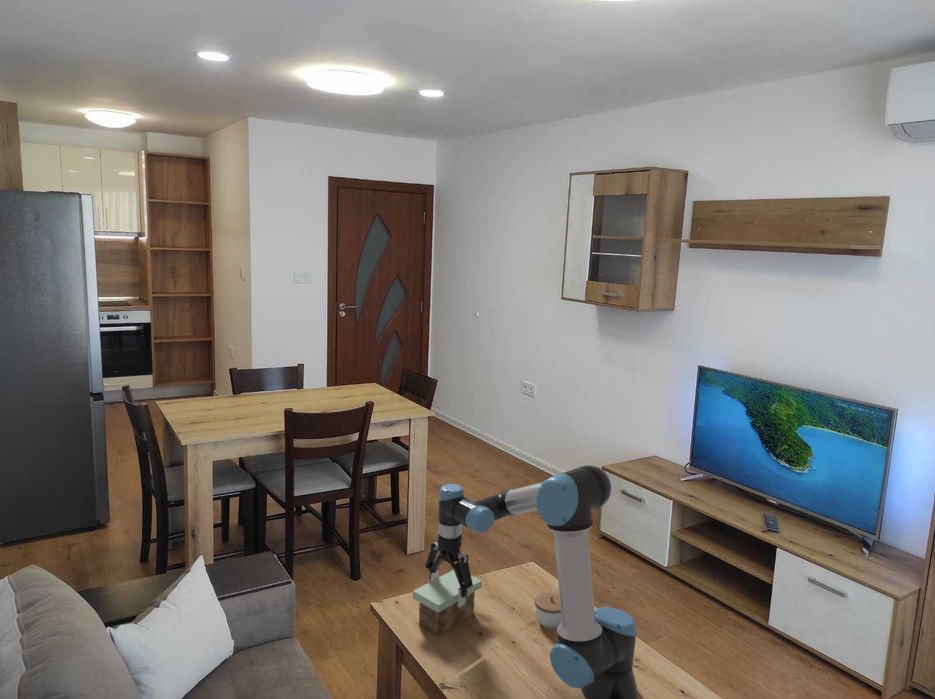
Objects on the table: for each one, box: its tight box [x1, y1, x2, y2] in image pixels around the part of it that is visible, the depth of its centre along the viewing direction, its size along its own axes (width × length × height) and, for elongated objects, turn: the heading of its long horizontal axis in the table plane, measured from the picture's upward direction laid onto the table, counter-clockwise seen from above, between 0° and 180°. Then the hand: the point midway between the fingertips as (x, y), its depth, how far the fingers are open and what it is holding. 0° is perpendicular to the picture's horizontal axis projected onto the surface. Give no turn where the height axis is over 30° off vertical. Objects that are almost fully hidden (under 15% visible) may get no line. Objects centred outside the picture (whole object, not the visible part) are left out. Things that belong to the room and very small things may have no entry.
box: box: [418, 591, 476, 637], centre depth 213 cm, size 17×8×10 cm, turn 138°
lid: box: [412, 569, 483, 613], centre depth 212 cm, size 20×11×4 cm, turn 138°
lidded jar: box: [534, 591, 562, 629], centre depth 215 cm, size 11×11×9 cm
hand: (447, 597), depth 213 cm, fingers closed on lid, 11 cm apart
